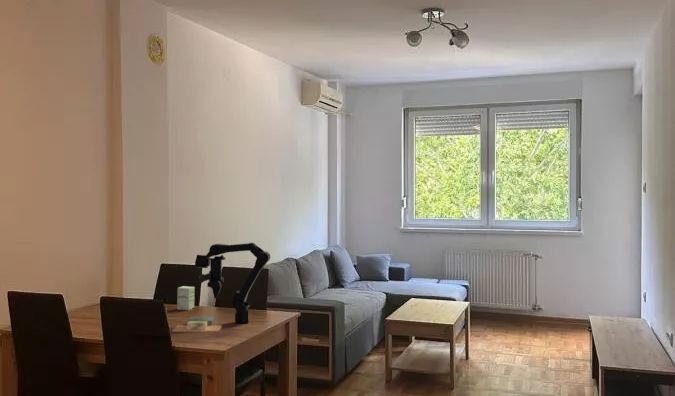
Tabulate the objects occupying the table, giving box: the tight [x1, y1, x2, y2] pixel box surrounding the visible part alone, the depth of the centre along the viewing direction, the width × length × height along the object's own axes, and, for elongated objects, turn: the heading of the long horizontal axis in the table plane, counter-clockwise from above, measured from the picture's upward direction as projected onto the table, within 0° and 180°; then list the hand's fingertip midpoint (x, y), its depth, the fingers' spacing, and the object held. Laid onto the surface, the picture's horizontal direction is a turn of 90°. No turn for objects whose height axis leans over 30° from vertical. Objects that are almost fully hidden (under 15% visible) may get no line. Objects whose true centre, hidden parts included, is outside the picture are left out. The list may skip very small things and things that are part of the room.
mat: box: [171, 324, 223, 333], centre depth 298 cm, size 22×12×1 cm, turn 93°
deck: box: [186, 316, 216, 326], centre depth 309 cm, size 12×10×3 cm
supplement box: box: [176, 285, 196, 311], centre depth 350 cm, size 7×7×13 cm
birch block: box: [186, 320, 207, 329], centre depth 297 cm, size 9×5×3 cm, turn 92°
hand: (215, 298), depth 317 cm, fingers closed
